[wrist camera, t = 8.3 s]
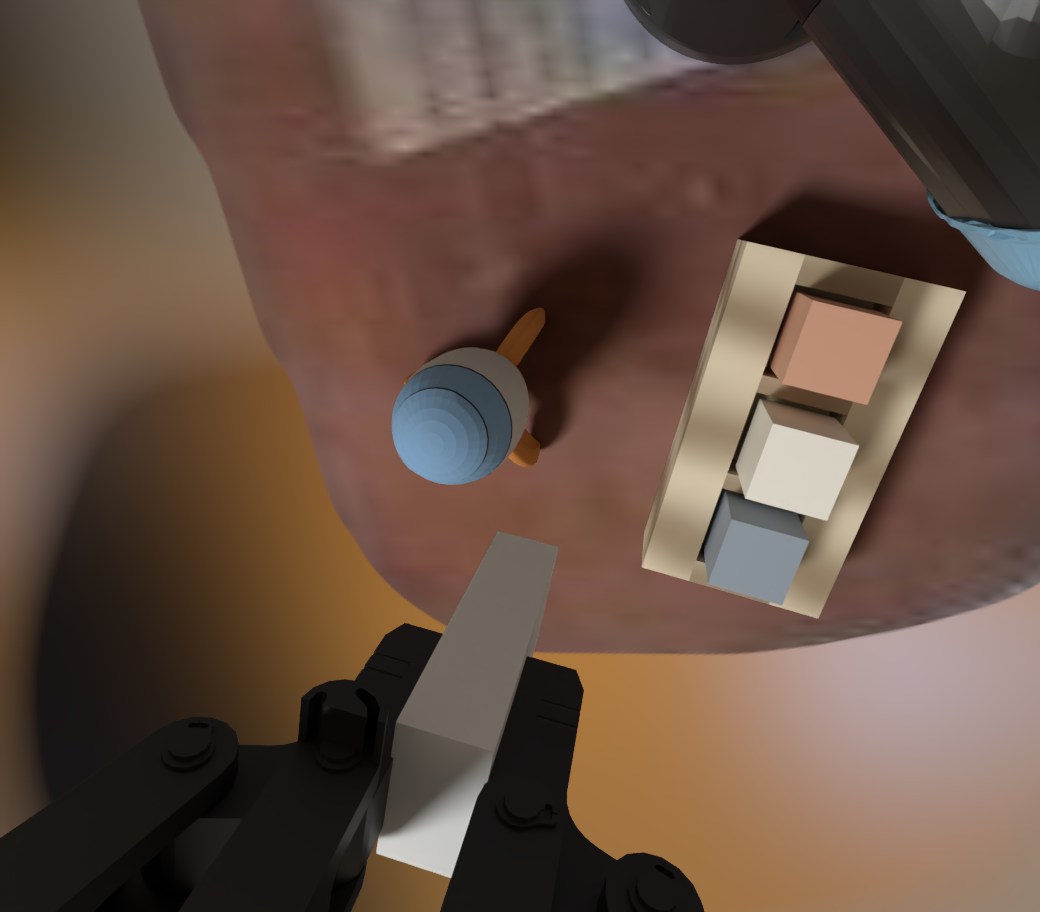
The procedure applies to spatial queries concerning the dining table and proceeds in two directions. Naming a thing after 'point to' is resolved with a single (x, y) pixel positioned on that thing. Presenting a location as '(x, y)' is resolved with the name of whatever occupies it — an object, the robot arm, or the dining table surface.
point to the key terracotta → (832, 347)
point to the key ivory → (795, 459)
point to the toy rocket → (468, 410)
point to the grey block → (753, 547)
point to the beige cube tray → (748, 378)
